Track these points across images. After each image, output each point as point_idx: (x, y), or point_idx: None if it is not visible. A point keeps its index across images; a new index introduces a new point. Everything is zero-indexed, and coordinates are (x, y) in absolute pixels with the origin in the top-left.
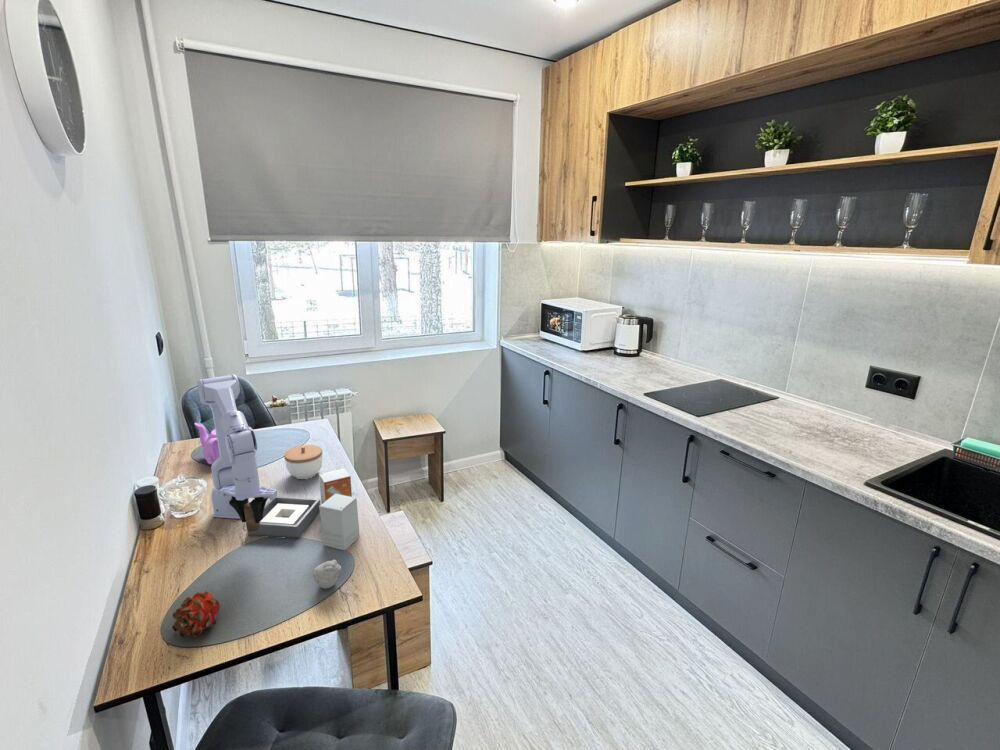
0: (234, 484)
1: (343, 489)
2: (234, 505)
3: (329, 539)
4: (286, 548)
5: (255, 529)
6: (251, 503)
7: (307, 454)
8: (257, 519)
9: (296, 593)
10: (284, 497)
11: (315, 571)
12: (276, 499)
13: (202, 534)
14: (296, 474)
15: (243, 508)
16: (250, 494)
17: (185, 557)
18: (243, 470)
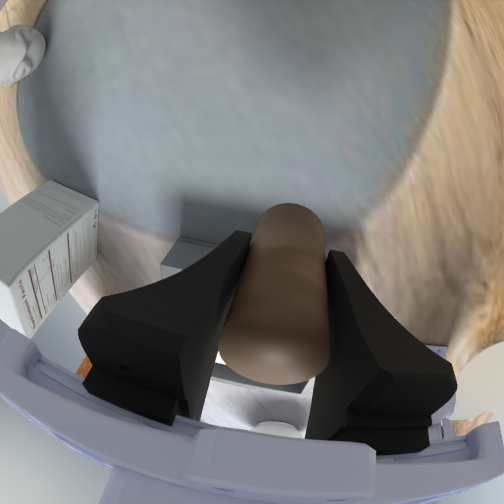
0: None
1: (85, 369)
2: (404, 353)
3: (64, 203)
4: (194, 191)
5: (267, 213)
6: (148, 342)
7: None
8: (224, 241)
9: (90, 4)
10: (275, 391)
11: (14, 38)
12: (298, 388)
13: (470, 289)
14: (282, 434)
15: (334, 335)
16: (134, 474)
17: (500, 192)
18: None
